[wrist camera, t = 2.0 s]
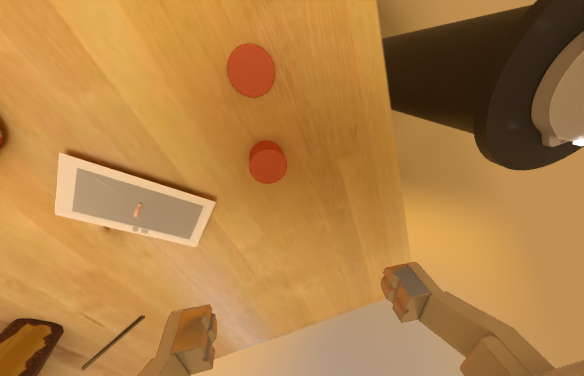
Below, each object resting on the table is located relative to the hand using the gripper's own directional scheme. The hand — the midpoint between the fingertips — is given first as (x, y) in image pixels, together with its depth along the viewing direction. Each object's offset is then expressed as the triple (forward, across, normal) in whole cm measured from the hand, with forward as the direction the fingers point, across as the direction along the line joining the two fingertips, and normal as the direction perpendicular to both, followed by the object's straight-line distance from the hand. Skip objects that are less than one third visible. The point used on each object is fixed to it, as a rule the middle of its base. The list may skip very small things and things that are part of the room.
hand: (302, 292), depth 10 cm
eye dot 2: (+18, 0, 0) cm, 18 cm away
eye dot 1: (+18, +1, -9) cm, 20 cm away
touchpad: (+18, +16, +4) cm, 24 cm away
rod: (+19, +31, +31) cm, 48 cm away
